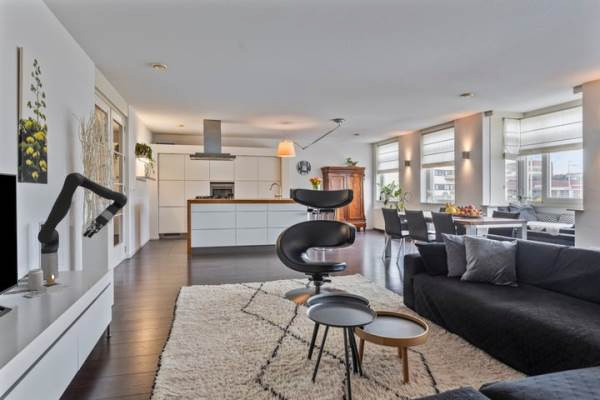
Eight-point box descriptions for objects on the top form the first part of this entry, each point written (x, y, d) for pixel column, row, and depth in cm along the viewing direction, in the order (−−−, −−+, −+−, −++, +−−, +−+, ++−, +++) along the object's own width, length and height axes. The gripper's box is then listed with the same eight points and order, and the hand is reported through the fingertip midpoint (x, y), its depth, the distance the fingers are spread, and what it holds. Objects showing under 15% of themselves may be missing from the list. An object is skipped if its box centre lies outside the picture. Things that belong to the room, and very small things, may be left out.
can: (45, 289, 213) (44, 269, 213) (29, 292, 208) (28, 271, 207) (42, 287, 218) (41, 267, 218) (27, 289, 213) (26, 269, 212)
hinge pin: (45, 292, 207) (44, 275, 207) (52, 290, 211) (51, 273, 211) (49, 292, 206) (48, 275, 205) (56, 290, 209) (55, 274, 209)
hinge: (24, 296, 200) (23, 289, 200) (66, 285, 220) (66, 279, 220) (33, 298, 196) (32, 290, 196) (75, 287, 216) (74, 280, 216)
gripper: (96, 213, 243) (77, 232, 235) (104, 214, 234) (85, 234, 226) (104, 221, 247) (86, 239, 239) (112, 222, 238) (94, 241, 230)
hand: (86, 236), depth 232 cm, fingers open, 8 cm apart
